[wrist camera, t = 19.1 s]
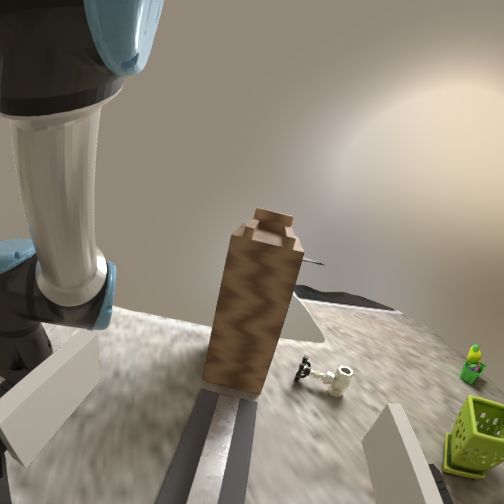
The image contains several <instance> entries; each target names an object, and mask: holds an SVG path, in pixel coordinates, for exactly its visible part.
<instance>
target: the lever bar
mask: <svg viewBox="0 0 504 504" xmlns="http://www.w3.org/2000/svg"><path fill="white" fill-rule="evenodd" d="M239 399H240V398H236V397H232V396H228V395H224V394H220V395H219V398H218V402H217V405H216V408H215V412H214V415H213V418H212V422H211V425H210V428H209V432H208V435H207V438H206V441H205V445H204V448H203V451H202V455H201V458H200V461H199V464H198V468H197V471H196V474H195V477H194V481H193V484H192V487H191V490H190V494H189V497H188V500H187V503H186V504H217V503H218V498H219V494H220V489H221V485H222V480H223V475H224V471H225V466H226V462H227V457H228V452H229V448H230V443H231V438H232V433H233V428H234V424H235V419H236V414H237V409H238V404H239Z"/></svg>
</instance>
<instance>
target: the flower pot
mask: <svg viewBox="0 0 504 504" xmlns="http://www.w3.org/2000/svg"><path fill="white" fill-rule="evenodd" d="M482 413H486V414H485V416H484V417H481V414H482ZM495 418H499V419H498V420H497V422H496V423H495V424H493V421H494V419H495ZM487 419H489V420H488V421H487V422H486V420H487ZM477 421H479V423H478V424H477V425H476V422H477ZM482 424H483V426H482V427H480V426H481V425H482ZM503 425H504V405H503V404H500V403H497V402H494V401H490V400H487V399H484V398H480V397H476V396H472V395H469V396H468V397H467V399H466V401H465V402H464V404H463V406H462V408H461V410H460V412H459V414H458V417H457V419H456V422H455V425H454V428H453V431H452V434H451V433H446V436H445V447H444V461H443V471H444V472H447V473H450V474H454V475H458V476H462V477H467V478H471V479H473V480H474V479H483V478H485V477H486V470H489V469H491V468H493V467H495V466H497V465H499V464H500V463H502V462H503V461H504V458H503V457H504V426H503ZM489 427H490V428H489ZM487 428H489V429H487ZM499 430H500V434H499V435H498V436H497V432H498V431H499ZM493 432H494V433H493ZM492 433H493V434H492Z"/></svg>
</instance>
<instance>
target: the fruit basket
mask: <svg viewBox="0 0 504 504" xmlns="http://www.w3.org/2000/svg"><path fill="white" fill-rule="evenodd" d="M481 357H482V355H481V353H480V350H479V346H478V345H474V346H472V347H471V348H470V352H469V354H468V357H467V360H468V361H467V362H466V363H465V364H464V366H463V370H462V373H461V377H460V378H461V379H463V380H464V381H466V382H467V383H469V384H470V385H471V384H472V383H473V382H474V381H475V379H476V378H477V377H478V376H479V375H480V374H481V373H482V372H483V370H484V369H485V368H486V365H485V364H483V363H481V362H480V361H479V360H480V359H481Z"/></svg>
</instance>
